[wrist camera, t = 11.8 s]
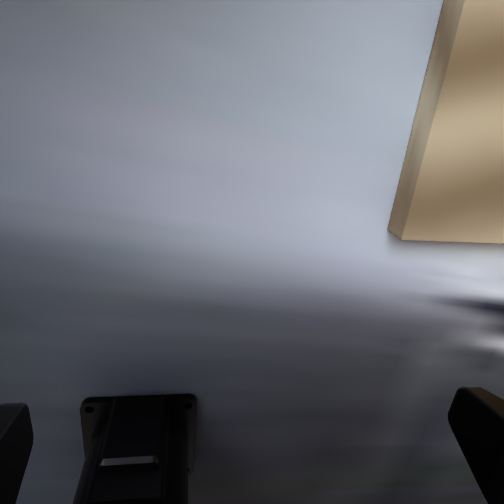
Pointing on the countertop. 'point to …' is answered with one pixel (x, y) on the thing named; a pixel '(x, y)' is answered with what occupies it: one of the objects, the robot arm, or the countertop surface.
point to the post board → (457, 133)
